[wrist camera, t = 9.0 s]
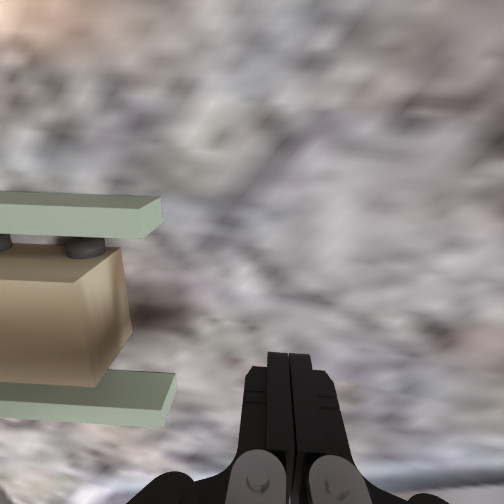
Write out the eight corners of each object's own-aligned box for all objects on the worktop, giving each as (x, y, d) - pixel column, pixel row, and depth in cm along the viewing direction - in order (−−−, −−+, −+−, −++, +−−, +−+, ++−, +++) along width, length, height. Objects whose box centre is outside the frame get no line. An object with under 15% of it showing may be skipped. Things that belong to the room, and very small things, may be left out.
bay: (-76, 188, 14) (-144, 198, 12) (160, 196, 14) (138, 209, 11) (-7, 378, 18) (-48, 414, 16) (176, 389, 18) (162, 428, 15)
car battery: (-18, 229, 15) (-114, 260, 11) (120, 234, 15) (70, 268, 11) (14, 334, 17) (-57, 388, 13) (134, 340, 17) (97, 397, 13)
